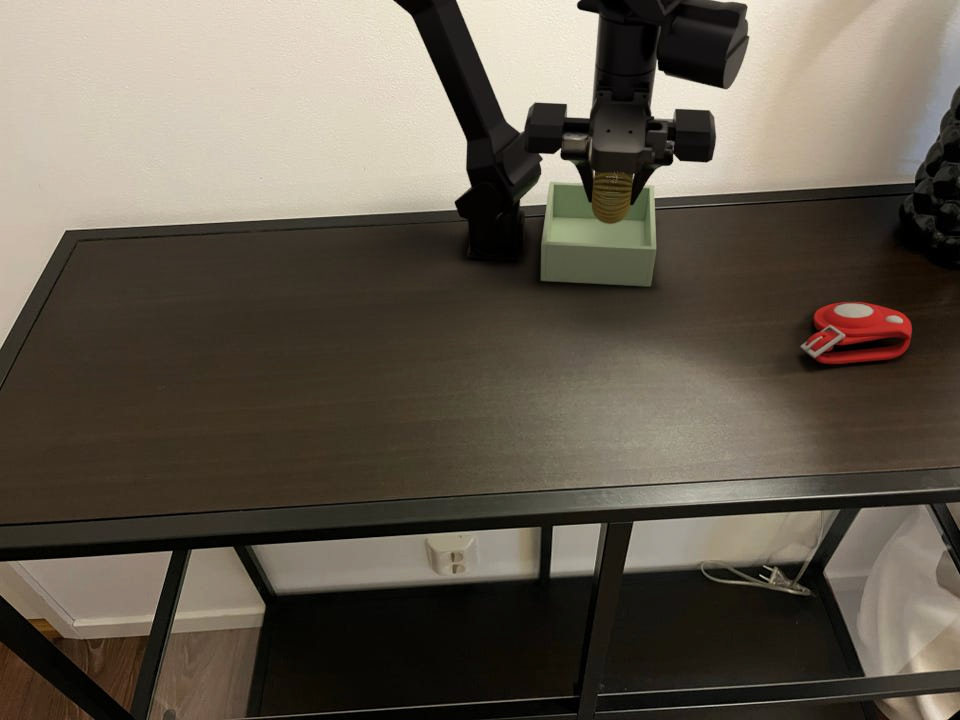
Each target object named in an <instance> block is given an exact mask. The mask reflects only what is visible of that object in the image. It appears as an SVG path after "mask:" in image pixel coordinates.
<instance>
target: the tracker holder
mask: <svg viewBox="0 0 960 720" xmlns="http://www.w3.org/2000/svg"><path fill="white" fill-rule="evenodd" d="M813 325H814V326H815V328H816V330H818V331H817V332H816V333H814V334H812V335H811V336H810V337H809V338H807V341H805V342H804V343H802V344H801V345H800V348H801V350H803V351H804V352H805V353H807V355H809V356H810V357H811V358H812V359H814V360H815V361H817V362H818V363H820V364H826V365H841V364H842V365H843V364H854V363H864V362H876V361H888V360H892V359H895V358H898V357H900V356H902V355H903V354H904V353H906V351H907V350H908V348H909V346H910V344H911V340H912V333H913V326H912V322H911V320H910V319H909V318H908V316H907V315H905V314H904V313H902V312H900V311H898V310H895V309H891V308H888V307H884V306H881V305H878V304H873V303H869V302H863V301H862V302H861V301H843V302H835V303H831V304H827V305H824V306H822V307H820V308H819V309H817V310H816V311H815V313H814V315H813ZM887 338H902V340H900V342H898V343H897V344H894V345H890V346H889V345H888V346H882V347H872V348H862V349H855V350H845V351H833V352H830V351H832V350H833V349H834V345H835V346H846V345H854V344H859V343H865V342H870V341H876V340H882V339H887Z"/></svg>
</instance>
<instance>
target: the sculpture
mask: <svg viewBox="0 0 960 720" xmlns="http://www.w3.org/2000/svg"><path fill="white" fill-rule="evenodd" d="M633 177H634V174H625V173H621V172H605V173H599V172H596V171H594V182H593V192H592V210H593V213H594V215H595V217H596V218H597V219H598V220H600V221H601V222H603V223H605V222H606V224H608V223H609V224H612V223H613V224H615V223H617V222H619V221H621V220H622V219H623V218H624V217H625V216H626V215H627V213H628V211H629V207H630V199H631V189H632V183H633ZM603 191H605V192H603ZM612 191H613V192H616V193H608V192H612ZM606 192H607V193H606ZM619 192H621V193H619ZM614 194H615V195H614ZM600 196H602V197H600ZM603 197H605V198H603ZM607 198H613V199H607ZM600 201H601V202H600ZM602 202H603V203H606V204H603V203H602ZM620 203H621V204H620ZM609 204H616V205H609ZM617 204H618V205H617ZM607 209H608V210H607ZM609 209H612V210H609ZM613 209H615V210H613Z"/></svg>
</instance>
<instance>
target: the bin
mask: <svg viewBox="0 0 960 720" xmlns="http://www.w3.org/2000/svg"><path fill="white" fill-rule="evenodd" d="M548 184H549V186H548V191H547V199H546V205H545V213H544V221H543V229H542V234H541V235H542V236H541V244H540V282H557V283H572V284H573V283H574V284H575V283H576V284H592V285H593V284H595V285H596V284H597V285H610V286H611V285H612V286H613V285H614V286H632V287H633V286H634V287H649V288H650V287H651V286H652V282H653V274H654V268H655V263H656V261H655V260H656V256H657V255H656V254H657V232H656V231H657V230H656V205H655V204H656V203H655V202H656V201H655V185H647V184H645V186H644V187H643V189H642V191H641V193H640V194H639V196H638V198H637V200H636V201H635V203H634V205H630V207H629V211H628V213H627V215H626V216H625V217H624V218H623V219H622V220H621V221H619V222H617V223H615V224H613V223H612V224H609V223H608V224H606V222H605V223H603V222H601V221H600V220H598V219H597V218H596V217H595V215H594V213H593V210H592V203H589V202H588V199H587V196H586V192H585V189H584V186H583V183H582V182H560V181H549V183H548ZM603 192H605V191H603ZM606 193H607V192H606ZM608 193H616V192H613V191H612V192H608ZM619 193H621V192H619ZM614 195H615V194H614ZM600 197H602V196H600ZM603 198H605V197H603ZM607 199H613V198H607ZM600 202H601V201H600ZM602 203H603V202H602ZM603 204H606V203H603ZM620 204H621V203H620ZM609 205H616V204H609ZM617 205H618V204H617ZM607 210H608V209H607ZM609 210H612V209H609ZM613 210H615V209H613Z"/></svg>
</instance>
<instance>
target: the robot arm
mask: <svg viewBox="0 0 960 720" xmlns="http://www.w3.org/2000/svg"><path fill="white" fill-rule="evenodd" d="M392 1H393V2H394V3H395V4H397V5H398V6H399V7H401V8H402V9H403V10H404V11H405V12H407V13H408V15H410V16H411V19H412V20H413V22H414V24H415V26H416V28H417V29H416V30H417V31H418V34H419V35H420V38H421V40H422V42H423V44H424V47H425V49H426V52H427V53H428V56H429V59H430V60H431V62H432V65H433V67H434V69H435V72H436V74H437V76H438V78H439V81H440V83H441V86H442V88H443V90H444V93H445V94H446V96H447V99H448V101H449V103H450V106H451V108H452V110H453V113H454V115H455V118H456V119H457V121H458V124H459V126H460V128H461V130H462V133H463V135H464V137H465V140H466V155H465V156H466V159H465V160H466V161H465V171H466V174H467V178H468V181H469V184H470V187H469V188H468V189H467V190H466V191H464V192H463V194H461V195H460V196H459V197H458V198H457V199H455V200H454V207H455V208H456V210H457V213H458V216H459V217H460V218H462V219H465V220H467V226H468V229H467V230H468V241H469V244H468V250H467V253H466V254H467V259H468V260H481V261H482V260H483V261H504V262H517V261H518V260H519V257H520V251H521V250H522V249H523V248H524V246H525V240H526V211H525V210H524V209H521V199H523V197H524V196H526V195H527V194H528V193H529V191H531V190H532V189H533V188H534V187H535V186H536V185H537V184H538V183H539V180H540V178H541V175H542V166H541V162H543V160H544V158H543V157H542V155H555V154H556V153H557V152H558V151H560V153H559V157H560V159H561V160H563V161H565V162H566V161H567V162H571V164H573V165H574V167H575V168H576V171H577V173H578V174H579V177H580V180H581V183H583V186H584V189H585V192H586V196H587V199H588V202H589V203H592V192H593V182H594V174H595V171H596V172H599V173H605V172H617V173H618V172H621V173H625V174H633V183H632V189H631V199H630V205H634V203H635V201H636V200H637V198H638V196H639V194H640V193H641V191H642V189H643V187H644V186H645V185H647V183H648V180H649V179H650V178H651V177H652V175H653V174H654V173H655V172H656V170H658V169H659V168H661V167H669V166H672V164H673V163H674V157H675V158H676V159H677V160H678V161H679V162H686V163H687V162H690V163H705V164H706V163H709V162H711V161H713V158H714V154H715V150H716V149H715V148H716V143H717V142H716V141H717V132H716V121H715V116H714V114H713V112H711V110H710V109H692V108H691V109H689V108H688V109H687V108H675V109H674V112H673V116H672V118H659V117H658V118H657V117H656V118H655V116H654V115H652V114H653V113H652V107H651V106H652V100H653V93H654V85H655V77H656V69H657V71H659V72H663V74H664V75H665V76H667V77H672V78H675V79H679V80H684V81H689V82H693V83H697V84H701V85H706V86H709V87H714V88H718V89H721V90H728V89H730V88H731V87H732V85H733V84H734V82H735V80H736V78H737V76H738V74H739V73H740V70H741V68H742V65H743V63H744V60H745V57H746V53H747V50H748V46H749V41H750V35H748V34H749V22H748V19H747V18H746V17H747V12H748V9H749V7H748V5H747V3H744V2H743V3H742V2H737V1H718V0H578V1H577V3H576V8H577V9H578V10H579V11H583V12H588V13H593V14H596V15H598V23H597V34H596V35H597V36H596V46H595V60H594V61H595V62H594V73H593V86H592V87H593V88H592V99H591V108H590V111H589V117H569V116H568V104H567V103H559V102H558V103H554V102H536V101H535V102H534V103H532V105H531V106H529V108H528V112H527V115H526V120H525V123H524V129H523V131H519V130H517V129H516V128H515V127H514V126H512V125H511V124H510V123H509V122H507V119H506V118H505V116H504V113H503V111H502V108H501V106H500V104H499V101H498V99H497V96H496V93H495V91H494V89H493V86H492V84H491V82H490V79H489V76H488V73H487V72H486V69H485V67H484V65H483V62H482V60H481V58H480V55H479V53H478V49H477V47H476V45H475V42H474V40H473V37H472V35H471V32H470V31H469V28H468V25H467V23H466V19H465V17H464V16H463V13H462V11H461V8H460V5H459V3H458V1H457V0H392Z"/></svg>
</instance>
